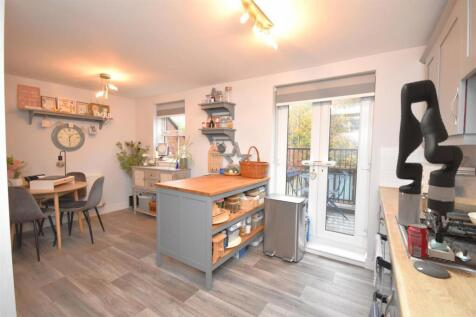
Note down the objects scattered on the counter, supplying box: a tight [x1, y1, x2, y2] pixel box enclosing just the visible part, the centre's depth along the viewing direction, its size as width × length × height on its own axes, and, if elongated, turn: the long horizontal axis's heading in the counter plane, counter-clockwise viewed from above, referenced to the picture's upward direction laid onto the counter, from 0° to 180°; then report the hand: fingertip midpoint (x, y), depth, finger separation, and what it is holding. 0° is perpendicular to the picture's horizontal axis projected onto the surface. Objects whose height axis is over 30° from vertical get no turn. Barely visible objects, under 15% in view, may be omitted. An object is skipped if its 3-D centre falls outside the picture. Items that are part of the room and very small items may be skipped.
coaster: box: [412, 260, 450, 279], centre depth 73 cm, size 9×9×1 cm
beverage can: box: [406, 223, 430, 259], centre depth 82 cm, size 6×6×12 cm
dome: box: [430, 238, 448, 252], centre depth 82 cm, size 4×4×4 cm
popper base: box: [428, 242, 455, 262], centre depth 82 cm, size 7×7×3 cm
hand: (438, 241), depth 82 cm, fingers closed
